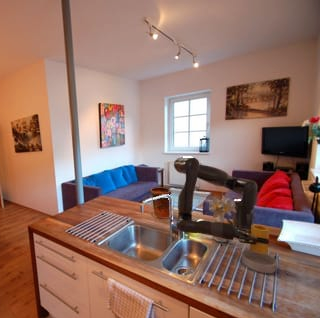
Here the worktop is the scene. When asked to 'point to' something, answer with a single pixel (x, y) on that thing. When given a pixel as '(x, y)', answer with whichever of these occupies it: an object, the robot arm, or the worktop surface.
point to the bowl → (259, 261)
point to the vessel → (161, 203)
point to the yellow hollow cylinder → (262, 233)
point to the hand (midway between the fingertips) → (266, 238)
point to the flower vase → (221, 211)
